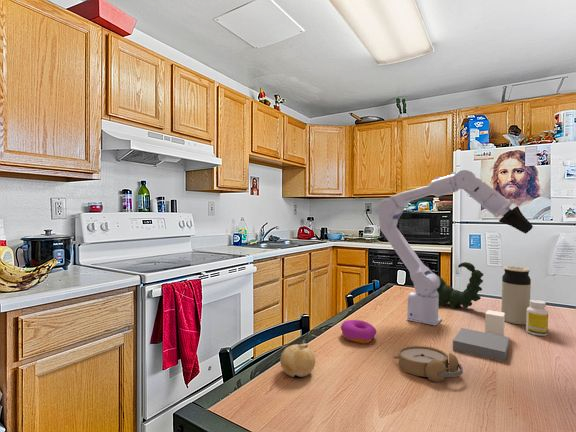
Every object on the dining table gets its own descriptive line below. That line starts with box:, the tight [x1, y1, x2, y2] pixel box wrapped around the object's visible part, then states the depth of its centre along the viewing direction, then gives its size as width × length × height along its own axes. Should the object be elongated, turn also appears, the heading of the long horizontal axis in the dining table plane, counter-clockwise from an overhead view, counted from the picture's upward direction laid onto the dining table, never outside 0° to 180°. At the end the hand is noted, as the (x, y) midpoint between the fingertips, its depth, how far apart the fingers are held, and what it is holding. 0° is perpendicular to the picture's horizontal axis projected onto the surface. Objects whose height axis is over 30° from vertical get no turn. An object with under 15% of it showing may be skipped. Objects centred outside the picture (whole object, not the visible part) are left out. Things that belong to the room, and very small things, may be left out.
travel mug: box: [500, 265, 532, 326], centre depth 116 cm, size 8×8×18 cm
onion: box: [279, 340, 316, 378], centre depth 79 cm, size 8×8×7 cm
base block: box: [452, 327, 510, 363], centre depth 94 cm, size 12×12×2 cm
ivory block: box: [484, 309, 506, 336], centre depth 103 cm, size 4×4×7 cm
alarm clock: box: [393, 345, 464, 383], centre depth 81 cm, size 11×5×15 cm
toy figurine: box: [436, 261, 484, 309], centre depth 135 cm, size 9×19×25 cm
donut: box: [340, 319, 377, 345], centre depth 101 cm, size 10×10×5 cm
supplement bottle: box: [525, 299, 549, 337], centre depth 105 cm, size 5×5×10 cm
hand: (529, 230), depth 99 cm, fingers open, 7 cm apart
